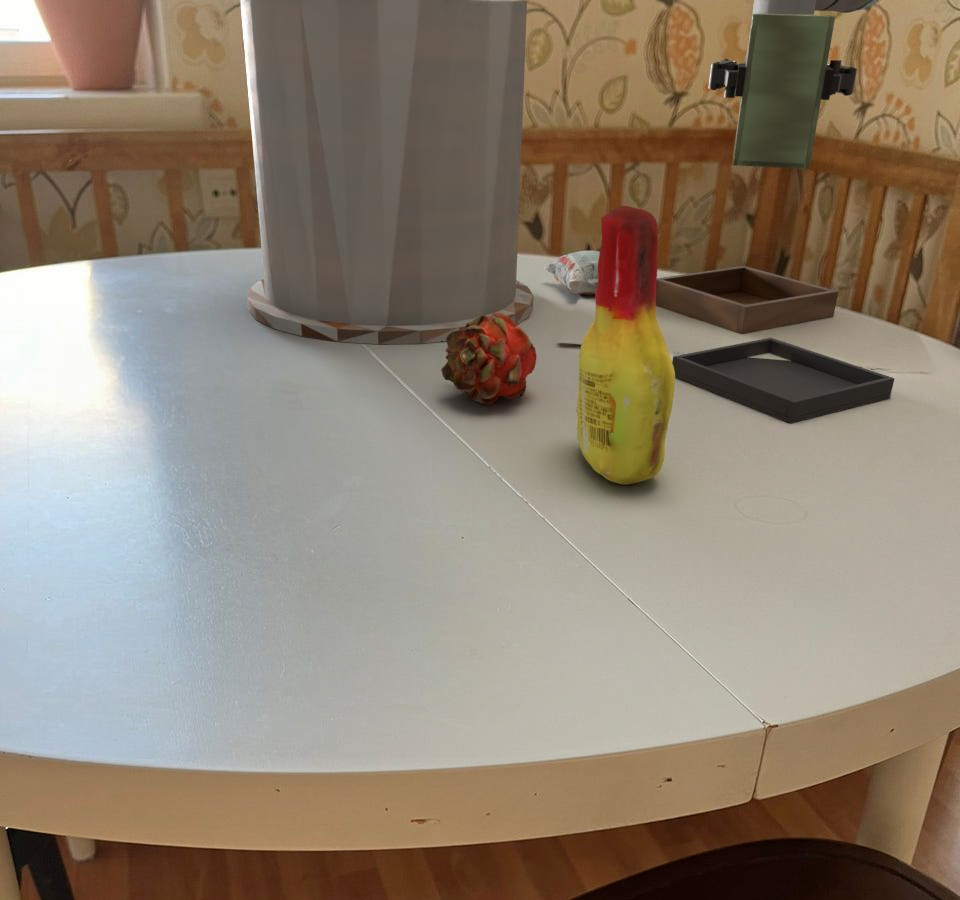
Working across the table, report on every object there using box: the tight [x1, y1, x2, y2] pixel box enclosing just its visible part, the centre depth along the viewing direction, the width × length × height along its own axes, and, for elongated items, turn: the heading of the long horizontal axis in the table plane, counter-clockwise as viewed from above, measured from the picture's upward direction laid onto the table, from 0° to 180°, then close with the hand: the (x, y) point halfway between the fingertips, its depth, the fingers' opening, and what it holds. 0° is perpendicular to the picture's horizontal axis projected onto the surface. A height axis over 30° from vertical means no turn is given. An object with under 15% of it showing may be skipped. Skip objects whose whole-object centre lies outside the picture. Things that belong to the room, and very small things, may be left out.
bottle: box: [576, 205, 676, 486], centre depth 81 cm, size 12×6×20 cm, turn 13°
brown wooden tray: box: [656, 265, 839, 335], centre depth 128 cm, size 16×16×4 cm
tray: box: [671, 337, 895, 424], centre depth 104 cm, size 16×14×2 cm
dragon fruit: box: [440, 313, 537, 406], centre depth 99 cm, size 8×8×12 cm
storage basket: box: [240, 0, 534, 345], centre depth 121 cm, size 35×35×32 cm
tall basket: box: [732, 12, 836, 170], centre depth 111 cm, size 8×8×14 cm
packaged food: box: [544, 250, 600, 296], centre depth 135 cm, size 9×12×5 cm
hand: (784, 83), depth 107 cm, fingers closed on tall basket, 8 cm apart
